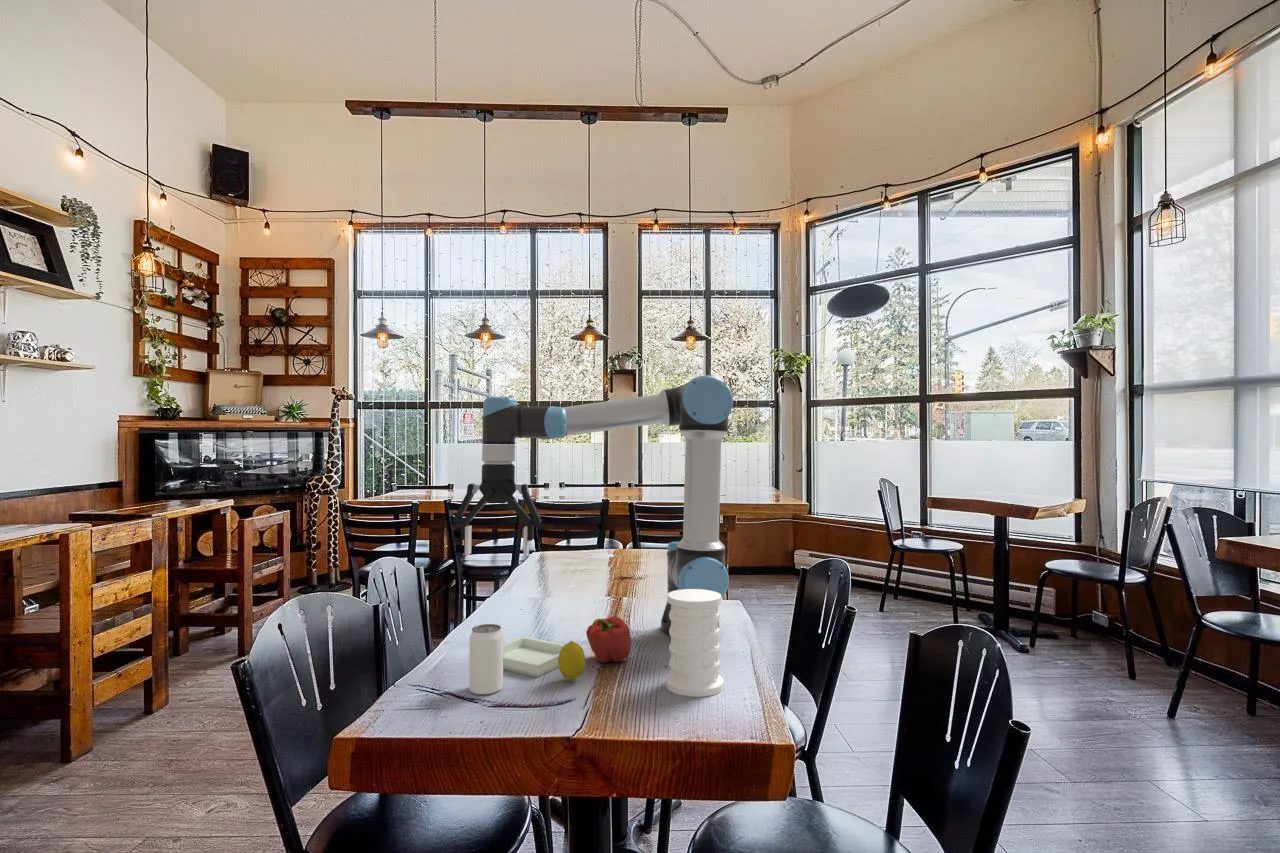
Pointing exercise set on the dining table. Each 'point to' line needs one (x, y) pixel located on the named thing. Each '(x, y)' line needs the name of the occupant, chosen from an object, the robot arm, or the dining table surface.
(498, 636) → the can
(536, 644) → the dish
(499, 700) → the dining table surface
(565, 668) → the lemon
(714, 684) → the decorative container
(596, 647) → the vegetable
